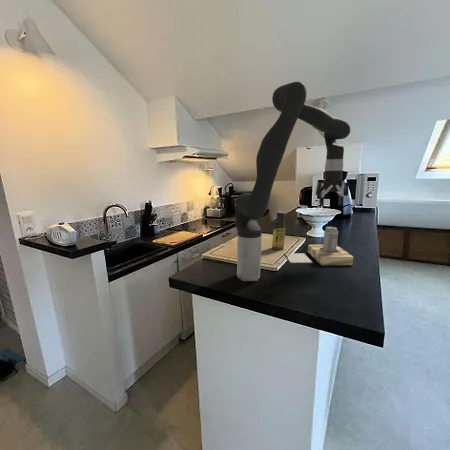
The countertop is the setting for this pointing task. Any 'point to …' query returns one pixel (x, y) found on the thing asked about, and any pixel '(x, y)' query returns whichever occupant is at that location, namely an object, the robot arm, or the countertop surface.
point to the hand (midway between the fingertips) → (330, 205)
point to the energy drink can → (330, 240)
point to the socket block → (330, 256)
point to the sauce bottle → (279, 232)
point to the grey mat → (299, 258)
